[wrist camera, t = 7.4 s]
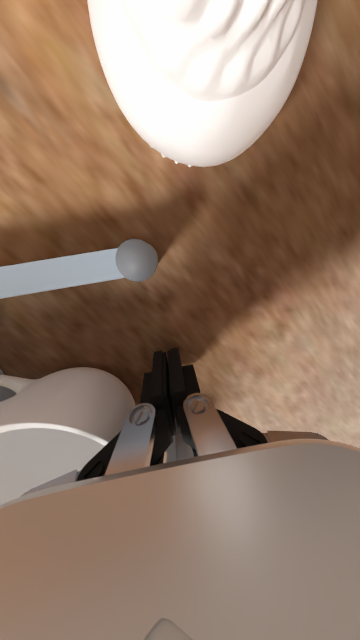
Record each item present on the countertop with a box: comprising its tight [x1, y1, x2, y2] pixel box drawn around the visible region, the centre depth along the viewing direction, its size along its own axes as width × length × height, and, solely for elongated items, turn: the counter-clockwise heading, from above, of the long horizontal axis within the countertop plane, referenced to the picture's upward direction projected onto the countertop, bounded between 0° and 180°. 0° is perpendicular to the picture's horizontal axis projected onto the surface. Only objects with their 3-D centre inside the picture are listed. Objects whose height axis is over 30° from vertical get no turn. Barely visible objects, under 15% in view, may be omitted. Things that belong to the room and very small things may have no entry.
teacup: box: [0, 367, 135, 505], centre depth 10 cm, size 10×8×5 cm
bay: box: [0, 239, 194, 463], centre depth 11 cm, size 13×16×4 cm
